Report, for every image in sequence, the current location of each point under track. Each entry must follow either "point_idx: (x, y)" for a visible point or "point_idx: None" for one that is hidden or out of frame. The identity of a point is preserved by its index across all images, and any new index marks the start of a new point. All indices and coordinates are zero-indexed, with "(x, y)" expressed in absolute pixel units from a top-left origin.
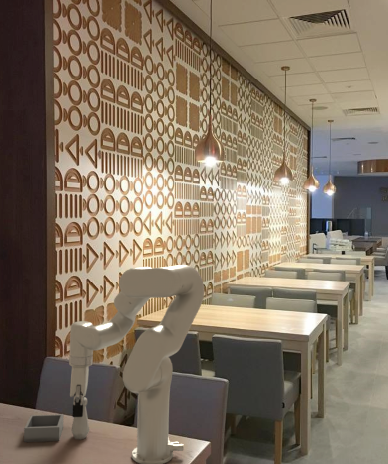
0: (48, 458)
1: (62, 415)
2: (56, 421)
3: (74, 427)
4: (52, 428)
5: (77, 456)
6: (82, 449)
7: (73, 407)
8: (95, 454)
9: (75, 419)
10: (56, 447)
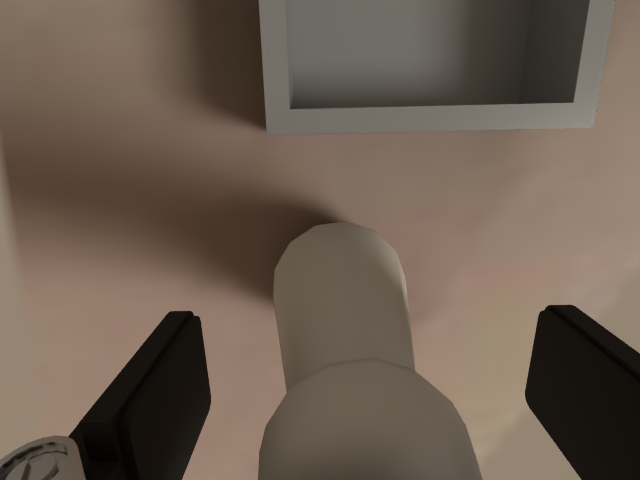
0: (4, 103)
1: (562, 121)
2: (542, 66)
3: (291, 262)
4: (263, 66)
5: (58, 281)
6: (154, 298)
7: (111, 396)
8: (96, 371)
9: (296, 295)
10: (174, 131)
